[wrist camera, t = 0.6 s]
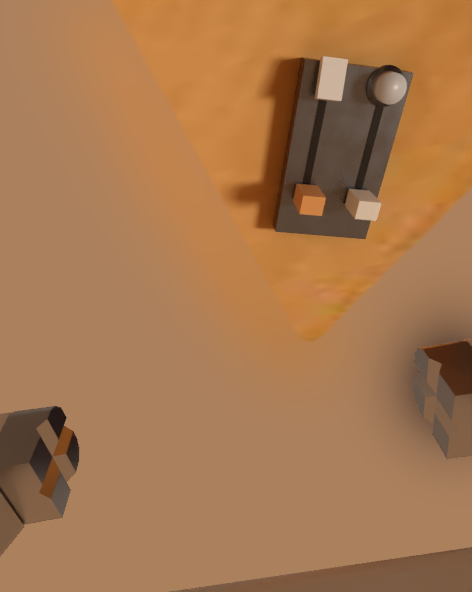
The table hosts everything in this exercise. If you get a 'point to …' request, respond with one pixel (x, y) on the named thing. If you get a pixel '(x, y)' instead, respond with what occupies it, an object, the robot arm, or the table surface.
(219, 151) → the table surface
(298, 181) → the console
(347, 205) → the fader ivory
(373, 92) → the button
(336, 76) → the plate
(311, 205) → the fader orange
